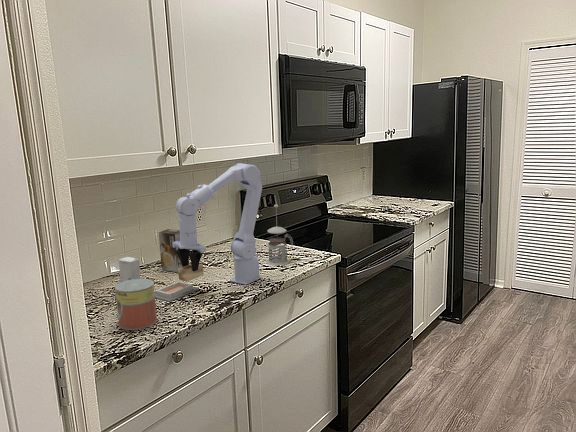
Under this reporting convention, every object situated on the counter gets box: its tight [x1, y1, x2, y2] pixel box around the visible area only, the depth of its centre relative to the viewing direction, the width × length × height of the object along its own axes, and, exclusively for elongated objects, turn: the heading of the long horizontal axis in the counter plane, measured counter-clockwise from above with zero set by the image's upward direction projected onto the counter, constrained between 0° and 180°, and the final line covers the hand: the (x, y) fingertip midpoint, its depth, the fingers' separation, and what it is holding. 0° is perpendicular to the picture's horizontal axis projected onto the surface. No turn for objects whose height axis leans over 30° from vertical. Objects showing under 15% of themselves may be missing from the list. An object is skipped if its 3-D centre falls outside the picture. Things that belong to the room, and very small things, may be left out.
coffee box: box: [158, 228, 182, 273], centre depth 193 cm, size 9×6×16 cm
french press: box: [266, 203, 294, 266], centre depth 198 cm, size 10×12×25 cm
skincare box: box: [118, 256, 141, 283], centre depth 169 cm, size 6×4×12 cm
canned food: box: [114, 277, 158, 331], centre depth 142 cm, size 11×11×12 cm
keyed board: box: [154, 280, 200, 303], centre depth 167 cm, size 14×10×2 cm
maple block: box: [177, 263, 204, 283], centre depth 166 cm, size 4×8×4 cm, turn 146°
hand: (190, 269), depth 166 cm, fingers closed on maple block, 4 cm apart
